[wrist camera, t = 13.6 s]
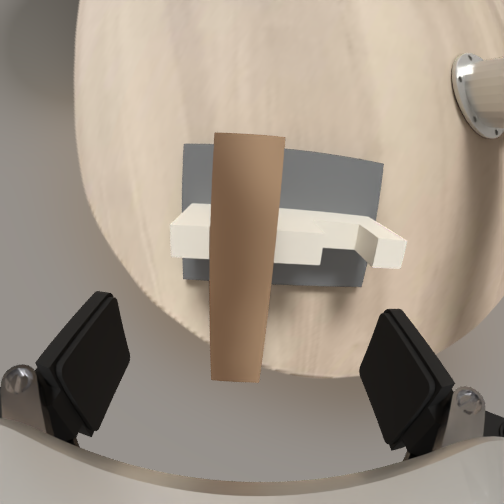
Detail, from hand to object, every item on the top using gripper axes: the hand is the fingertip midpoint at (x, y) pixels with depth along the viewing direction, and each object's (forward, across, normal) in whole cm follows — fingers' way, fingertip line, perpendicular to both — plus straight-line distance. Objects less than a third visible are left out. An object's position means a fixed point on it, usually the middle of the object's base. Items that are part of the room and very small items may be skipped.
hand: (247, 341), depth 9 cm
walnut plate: (+18, +1, 0) cm, 19 cm away
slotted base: (+20, -3, 0) cm, 20 cm away
